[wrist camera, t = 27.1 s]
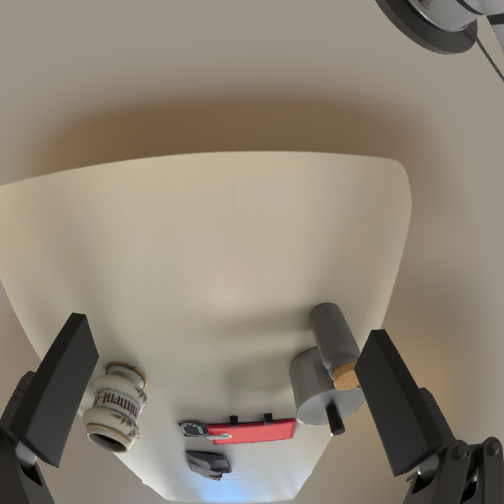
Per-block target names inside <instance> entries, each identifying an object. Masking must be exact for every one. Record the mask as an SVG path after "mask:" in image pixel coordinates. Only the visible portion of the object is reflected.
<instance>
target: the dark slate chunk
mask: <svg viewBox="0 0 504 504" xmlns="http://www.w3.org/2000/svg"><path fill="white" fill-rule="evenodd" d="M186 456H187V460H188V463H189V466H190V469H191V471H193V472H197V473H199V474H201V475H202V476H204V477H206V478H210V479H214V480H217V481H219V480H220V478H222V473H231V472H232V471H231V467H230V465H229V463H228V462H227V459H226V458H225V457H224V456H223V455H217V454H207V453H200V452H194V451H187V452H186Z"/></svg>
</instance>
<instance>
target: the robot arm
mask: <svg viewBox="0 0 504 504" xmlns="http://www.w3.org/2000/svg"><path fill="white" fill-rule="evenodd" d="M405 2H406V3H407V4H408V5H409V7H410V8H411V9H412V10H413V11H414V12H415V13H416V14H417V15H418V16H419V17H420V18H421V19H423V20H424V21H425V22H426V23H428V24H429V25H431V26H432V27H434V28H436V29H438V30H441V31H444V32H449V33H451V32H457V31H461V30H463V29H465V28H466V27H467V28H468V29H469V31H470V32H471V34H472V35H473V37H474V38H475V40H476V41H477V43H478V45H479V46H480V48H481V50H482V51H483V53H484V54H485V55H486V57H487V58H488V60H489V61H490V63H491V64H492V66H493V67H494V69H495V70H496V72H497V73H498V74H499V76H500V77H501V79H502V80H503V82H504V77H503V76H502V74H501V73H500V71H499V70H498V68H497V67H496V66H495V64H494V63H493V61H492V59H491V58H490V56H489V55H488V53H487V52H486V50H485V49H484V47H483V46H482V44H481V43H480V41H479V39H478V37H477V36H476V34H475V33H474V31H473V30H472V28H471V27H470V26H469V24H470V23H471V22H473V21H474V20H475V19H476V18H477V17H479V16H480V15H484V14H485V15H486V17H487V18H488V20H489V22H490V24H491V26H492V28H493V30H494V32H495V35H496V36H497V39H498V41H499V43H500V45H501V48H502V50H503V52H504V0H405ZM98 358H99V355H98V352H97V349H96V346H95V343H94V340H93V337H92V334H91V330H90V327H89V324H88V320H87V317H86V315H85V314H79V313H73V312H72V314H71V315H70V317H69V318H68V320H67V321H66V323H65V325H64V326H63V328H62V329H61V331H60V332H59V334H58V336H57V337H56V339H55V341H54V342H53V344H52V345H51V347H50V349H49V351H48V352H47V354H46V356H45V357H44V359H43V361H42V363H41V364H40V366H39V368H38V370H37V372H36V373H35V372H32V371H28V373H26V374H25V375H24V376H23V377H22V378H21V380H20V381H19V383H18V385H17V387H16V389H15V391H14V393H13V396H11V398H10V400H9V402H8V405H7V406H6V408H5V410H4V413H3V415H2V417H1V419H0V504H55V502H54V500H53V498H52V496H51V494H50V492H49V489H48V487H47V485H46V483H45V480H44V478H43V476H42V473H41V471H40V468H39V466H38V464H37V462H36V457H37V456H38V457H39V458H40V459H41V460H42V461H44V462H45V463H48V464H50V465H52V466H55V467H57V468H59V464H60V461H61V458H62V454H63V451H64V448H65V444H66V442H67V438H68V436H69V432H70V430H71V427H72V424H73V421H74V418H75V416H76V413H77V410H78V407H79V405H80V402H81V400H82V397H83V394H84V392H85V389H86V387H87V384H88V382H89V379H90V377H91V375H92V372H93V370H94V367H95V365H96V363H97V361H98ZM354 371H355V374H356V376H357V379H358V381H359V384H360V386H361V389H362V391H363V394H364V396H365V399H366V401H367V404H368V406H369V409H370V412H371V414H372V417H373V419H374V422H375V425H376V427H377V430H378V433H379V436H380V438H381V441H382V444H383V447H384V449H385V452H386V455H387V458H388V461H389V464H390V466H391V469H392V472H393V475H394V477H396V476H399V475H402V474H404V473H407V472H409V471H411V470H412V469H413V468H414V467H417V471H416V472H415V473H413V474H412V475H411V476H409V477H408V478H407V480H406V482H408V481H409V480H411V479H412V478H413V480H412V481H411V482H410V483H411V485H410V487H409V490H408V492H407V494H406V497H405V499H404V501H403V504H504V459H503V449H502V445H501V443H500V441H499V440H498V439H497V438H495V437H489V438H487V439H486V440H485V441H484V442H483V443H482V444H475V445H474V444H473V445H468V444H467V443H466V442H464V441H462V440H456V439H455V437H454V436H453V434H452V432H451V429H450V427H449V426H448V423H447V422H446V420H445V418H444V416H443V414H442V412H441V410H440V408H439V406H438V405H437V402H436V401H435V399H434V397H433V395H432V394H431V393H430V392H429V391H428V390H427V389H426V388H425V387H424V388H418V386H417V385H416V383H415V381H414V379H413V377H412V376H411V374H410V372H409V370H408V368H407V367H406V365H405V363H404V361H403V360H402V358H401V356H400V354H399V353H398V351H397V349H396V347H395V346H394V344H393V342H392V341H391V339H390V337H389V336H388V334H387V332H386V331H385V329H379V330H371V332H370V334H369V337H368V339H367V341H366V343H365V346H364V348H363V350H362V352H361V354H360V356H359V358H358V361H357V363H356V365H355V367H354ZM476 475H477V481H474V477H475V476H476Z"/></svg>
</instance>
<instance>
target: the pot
mask: <svg viewBox="0 0 504 504" xmlns="http://www.w3.org/2000/svg"><path fill="white" fill-rule="evenodd" d="M290 378H291V383H292V388H293V393H294V398H295V403H296V408H298V406H299V405H300V404H301V403H302V402H303V401H304V400H305V399H307V398H308V397H309V396H311V395H313V394H315V393H317V392H319V391H322V390H324V389H327V388H331V387H335V386H334V381H333V380H332V379H331V378H330V375H329V370H328V369H327V368H326V367H325V366H324V364H323V361H322V358H321V355H320V352H319V349H318V347H315V348H312V349H310V350H307V351H305V352H304V353H302V354H301V355H299V356H298V357H297V358H296V359H295V360H294V361H293V363H292V364H291V367H290ZM358 387H360V384H359V385H358ZM360 388H361V387H360Z"/></svg>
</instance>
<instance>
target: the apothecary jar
mask: <svg viewBox="0 0 504 504" xmlns="http://www.w3.org/2000/svg"><path fill="white" fill-rule="evenodd" d="M106 374H107V375H104V376H101V377H99V378H98V379H96V381H95V382H94V385H93V391H94V394H95V396H96V397H95V400H94V404H93V407H92V408H90V409H88V410H86V411H85V412H84V414H83V422H84V425H85V426H86V428H87V433H86V435H87V438H88V439H89V440H90V441H91V442H92V443H93V444H95V445H97V446H98V447H100V448H103V449H105V450H108V451H111V452H116V453H125V452H127V451H128V449H129V447H130V446H131V445H133V444H135V443H136V442H137V441H138V440H139V438H140V431H139V428H138V427H137V425H136V424H137V419H138V416H139V414H140V413H141V412H143V411H144V410H145V409H146V407H147V403H148V400H147V397H146V394H145V393H144V391H143V389H144V388H145V387H146V386H147V379H146V377H145V375H144V374H143V373H142V372H141V371H140V370H138V369H137V368H135V367H131V366H129V365H128V364H126V363H123V362H112V363H110V364H108V365H107V367H106Z"/></svg>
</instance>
